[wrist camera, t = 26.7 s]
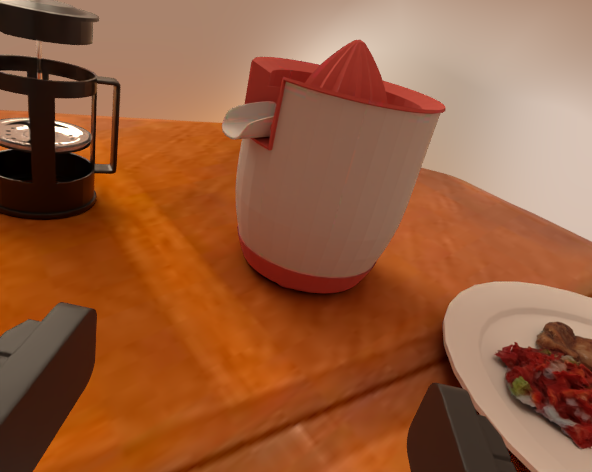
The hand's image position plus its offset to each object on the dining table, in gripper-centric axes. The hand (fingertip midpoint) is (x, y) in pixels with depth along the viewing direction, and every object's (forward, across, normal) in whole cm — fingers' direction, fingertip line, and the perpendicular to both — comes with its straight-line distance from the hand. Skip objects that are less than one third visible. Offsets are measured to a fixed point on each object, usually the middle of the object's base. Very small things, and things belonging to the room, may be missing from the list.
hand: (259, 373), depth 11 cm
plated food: (+18, -29, +13) cm, 36 cm away
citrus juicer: (+30, -2, +14) cm, 33 cm away
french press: (+32, +22, +14) cm, 41 cm away
